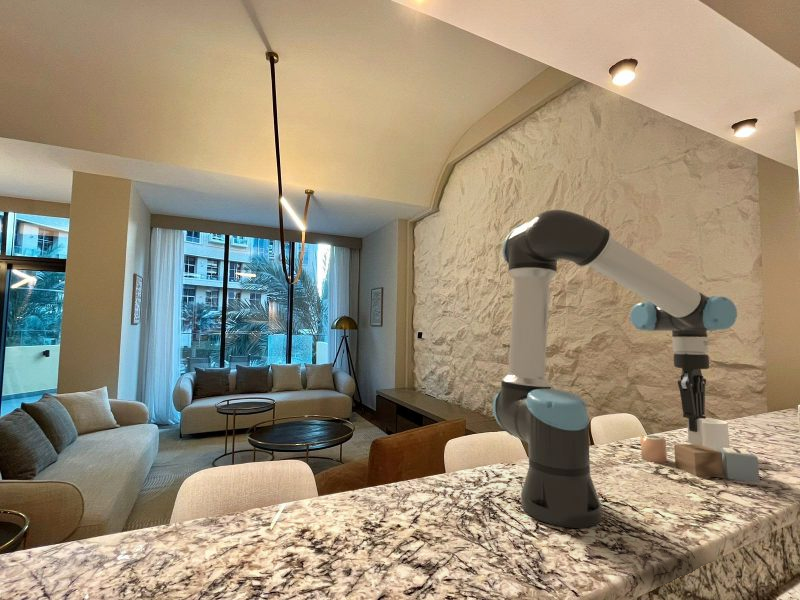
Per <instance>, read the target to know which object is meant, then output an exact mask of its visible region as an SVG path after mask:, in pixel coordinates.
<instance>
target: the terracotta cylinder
mask: <svg viewBox="0 0 800 600" xmlns="http://www.w3.org/2000/svg"><path fill="white" fill-rule="evenodd" d="M640 450H641V451H640V453H641V459H642V460H643V461H645V462H648V463H652V462H654V464H667V463H668V458H667V456H668V453H667V439H665V438H664V437H661V436H658V435H649V434H647V435H641V436H640ZM666 462H667V463H666Z"/></svg>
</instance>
